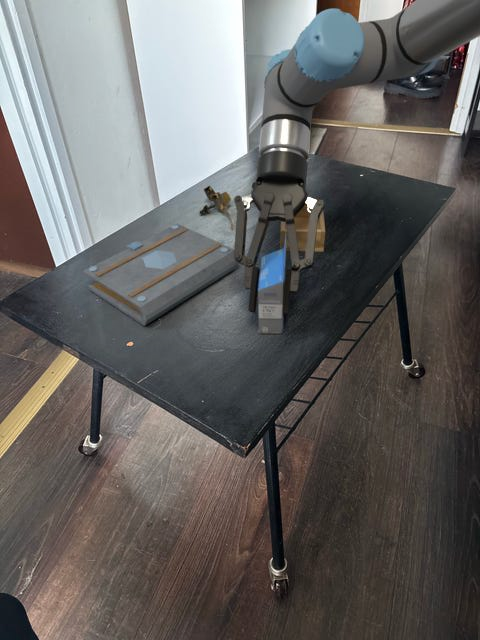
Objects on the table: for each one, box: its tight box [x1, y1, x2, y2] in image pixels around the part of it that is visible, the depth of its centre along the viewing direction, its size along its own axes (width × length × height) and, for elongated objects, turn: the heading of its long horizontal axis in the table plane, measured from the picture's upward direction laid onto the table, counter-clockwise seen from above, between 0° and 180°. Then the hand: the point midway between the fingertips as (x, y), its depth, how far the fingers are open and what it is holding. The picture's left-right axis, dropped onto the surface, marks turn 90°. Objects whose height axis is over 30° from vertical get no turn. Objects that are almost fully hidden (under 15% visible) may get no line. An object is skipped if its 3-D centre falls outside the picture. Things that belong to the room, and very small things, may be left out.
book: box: [82, 223, 239, 327], centre depth 82 cm, size 21×16×5 cm
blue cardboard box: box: [257, 234, 287, 335], centre depth 71 cm, size 9×4×12 cm, turn 175°
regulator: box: [199, 185, 234, 231], centre depth 101 cm, size 8×4×15 cm
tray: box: [279, 205, 326, 253], centre depth 93 cm, size 8×13×4 cm, turn 175°
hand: (268, 312), depth 70 cm, fingers closed on blue cardboard box, 4 cm apart
